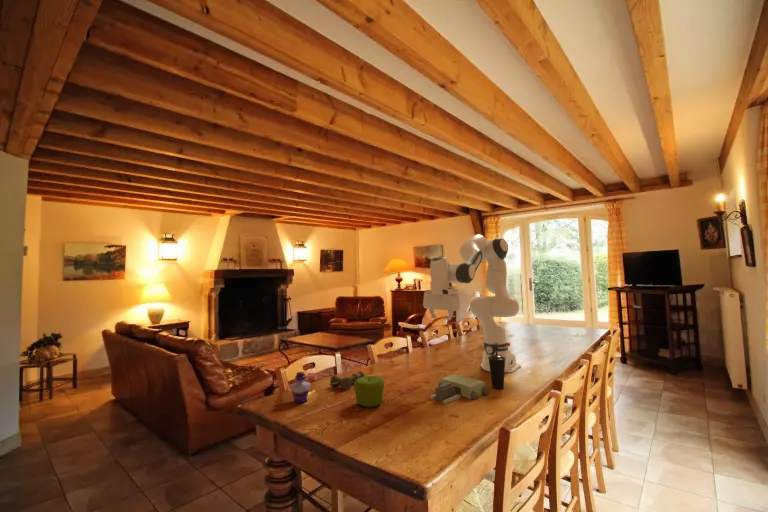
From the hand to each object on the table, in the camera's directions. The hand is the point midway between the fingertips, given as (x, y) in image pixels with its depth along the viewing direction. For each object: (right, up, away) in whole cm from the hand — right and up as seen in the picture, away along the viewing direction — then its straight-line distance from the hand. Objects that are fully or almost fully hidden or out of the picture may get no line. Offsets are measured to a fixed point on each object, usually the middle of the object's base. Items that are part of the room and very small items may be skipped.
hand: (441, 319), depth 166 cm
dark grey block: (-2, -30, -21) cm, 36 cm away
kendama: (-45, -32, -2) cm, 56 cm away
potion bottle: (-63, -31, -21) cm, 73 cm away
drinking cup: (+24, -30, -10) cm, 39 cm away
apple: (-33, -30, -26) cm, 52 cm away
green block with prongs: (+3, -30, -17) cm, 34 cm away
